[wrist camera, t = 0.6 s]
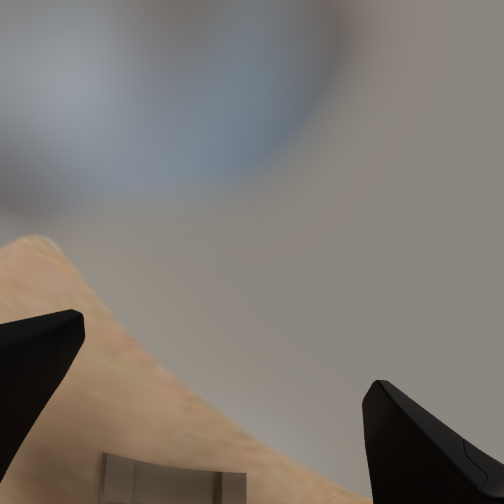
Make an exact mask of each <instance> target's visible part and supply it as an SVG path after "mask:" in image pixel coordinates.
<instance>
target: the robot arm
mask: <svg viewBox="0 0 504 504" xmlns="http://www.w3.org/2000/svg"><path fill="white" fill-rule="evenodd" d="M84 340H85V328H84V317H83V314H82V313H81V312H78V311H76V310H73V309H69V310H65V311H60V312H55V313H51V314H46V315H42V316H37V317H32V318H27V319H23V320H18V321H13V322H8V323H4V324H0V483H1V481H2V479H3V477H4V475H5V473H6V471H7V469H8V467H9V465H10V464H11V462H12V460H13V458H14V456H15V455H16V453H17V451H18V449H19V448H20V446H21V444H22V442H23V441H24V439H25V437H26V436H27V434H28V432H29V431H30V429H31V427H32V426H33V424H34V423H35V421H36V419H37V418H38V416H39V415H40V413H41V411H42V410H43V408H44V407H45V405H46V404H47V402H48V401H49V399H50V398H51V396H52V395H53V393H54V392H55V390H56V389H57V387H58V386H59V384H60V383H61V381H62V380H63V378H64V377H65V375H66V373H67V372H68V370H69V368H70V366H71V364H72V362H73V360H74V359H75V357H76V355H77V353H78V351H79V350H80V348H81V346H82V344H83V343H84ZM362 411H363V423H364V440H365V449H366V455H367V461H368V468H369V474H370V480H371V488H372V496H373V504H504V464H502V463H500V462H499V461H497V460H495V459H493V458H492V457H490V456H489V455H487V454H486V453H484V452H482V451H481V450H479V449H478V448H476V447H475V446H474V445H472V444H471V443H469V442H468V441H466V440H465V439H463V438H462V437H461V436H460V435H459V434H457V433H456V432H454V431H453V430H452V429H451V428H449V427H448V426H446V425H445V424H444V423H442V422H441V421H440V420H438V419H437V418H436V417H434V416H433V415H432V414H430V413H429V412H428V411H427V410H425V409H424V408H422V407H421V406H420V405H418V404H417V403H416V402H415V401H413V400H412V399H410V398H409V397H408V396H407V395H405V394H404V393H403V392H401V391H400V390H399V389H398V388H396V387H395V386H394V385H392V384H391V383H390V382H388V381H386V380H376V381H374V382H373V383H372V385H371V387H370V389H369V390H368V392H367V394H366V395H365V397H364V399H363V402H362Z"/></svg>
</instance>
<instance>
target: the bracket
mask: <svg viewBox="0 0 504 504" xmlns="http://www.w3.org/2000/svg"><path fill="white" fill-rule="evenodd" d="M99 504H246V473H229V472H210V471H198V470H189V469H181V468H173V467H167V466H161V465H155V464H149V463H144V462H139V461H135V460H131V459H127V458H123V457H119V456H115V455H111V454H107V453H103V461H102V471H101V482H100V501H99Z"/></svg>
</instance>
